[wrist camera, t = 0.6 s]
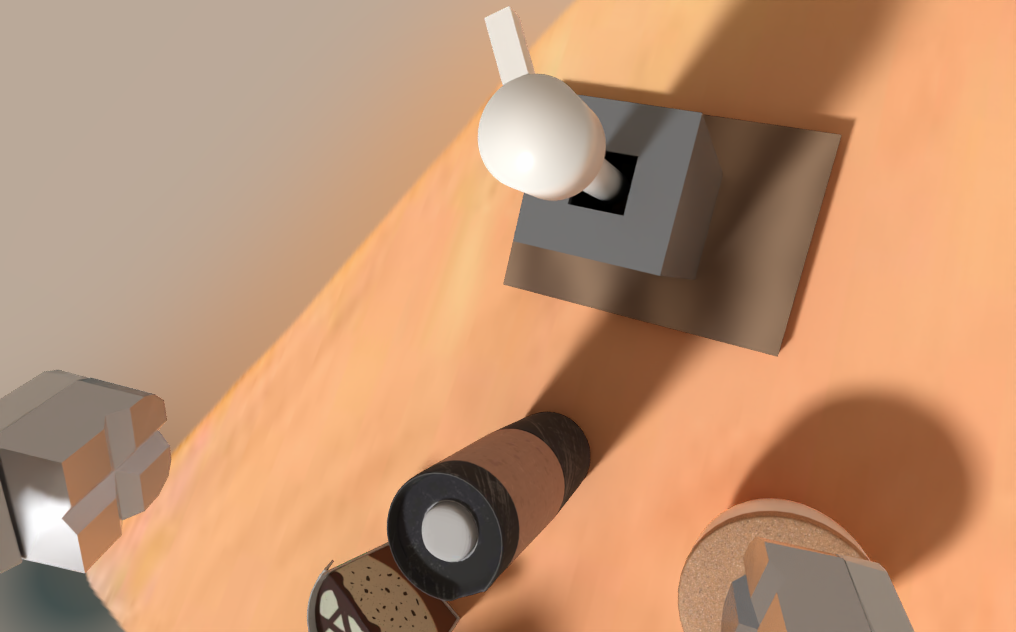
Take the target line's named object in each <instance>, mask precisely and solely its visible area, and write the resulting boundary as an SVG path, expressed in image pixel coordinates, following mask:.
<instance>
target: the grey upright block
mask: <svg viewBox="0 0 1016 632" xmlns="http://www.w3.org/2000/svg"><path fill="white" fill-rule="evenodd" d="M578 96H579V97H580V98H581V99H582V100H583V102H584V103H585V104H586V105H587V106H588V107H589V108H590V109H591V110H592V111H593V112H594V113H595V114H596V116H597V117H598V118H599V120H600V122H601V124H602V127H603V130H604V134H605V140H606V150H605V157H604V159H605V160H607V161H608V162H609V163H610V164H612V165H613V166H614V167H615V168H616V169H618V170H619V171H620V172H621V170H622V166H623V163H624V164H630V165H636V168H635V172H634V176H633V180H632V184H631V188H630V192H629V196H628V200H627V204H626V208H625V212H624V216H622V215H617V214H613V213H611V211H612V207H613V204H607V203H604V202H603V201H601V200H599V199H597V198H595V197H593V196H591V195H590V194H588V193H586V192H584V191H581V192H580V193H578V194H577V195H575V196H572V197H570V198H567V199H563V200H557V201H549V200H543V199H539V198H537V197H534V196H532V195H529V194H527V193H524V195H523V200H522V204H521V209H520V213H519V217H518V222H517V226H516V231H515V235H514V239H513V241H515V242H519V243H523V244H527V245H532V246H536V247H540V248H544V249H549V250H553V251H557V252H561V253H566V254H570V255H574V256H578V257H582V258H587V259H591V260H595V261H599V262H604V263H608V264H612V265H616V266H620V267H625V268H629V269H633V270H637V271H642V272H646V273H650V274H654V275H658V276H666V277H674V278H683V279H691V280H695V278H696V274H697V270H698V267H699V263H700V259H701V255H702V252H703V248H704V244H705V240H706V237H707V233H708V229H709V225H710V222H711V218H712V214H713V210H714V207H715V203H716V199H717V196H718V192H719V188H720V184H721V181H722V177H723V172H722V169H721V166H720V163H719V160H718V158H717V155H716V152H715V149H714V146H713V143H712V140H711V137H710V134H709V131H708V128H707V125H706V122H705V119H704V117H703V114H702V113H700V112H693V111H686V110H679V109H672V108H665V107H659V106H652V105H645V104H638V103H631V102H624V101H617V100H611V99H604V98H597V97H590V96H583V95H578Z"/></svg>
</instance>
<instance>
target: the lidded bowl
mask: <svg viewBox="0 0 1016 632" xmlns="http://www.w3.org/2000/svg"><path fill="white" fill-rule="evenodd" d="M756 536H757V537H762V538H766V539H771V540H775V541H779V542H784V543H788V544H792V545H797V546H801V547H806V548H810V549H814V550H819V551H823V552H827V553H832V554H834V555H836V554H840V555H844V556H849V557H854V558H858V559H863V560H868V561H870V559H869V557H868V556H867V555H866V553H865V552H864V551H863V549H862V548H861V546H860V545H859V544H858V543H857V541H856V540H855V539H854V538H853V537H852V536H851V535H850V534H849V533H848V532H847V531H846V530H845V529H844V528H843V527H842V526H840V525H839V524H838V523H836V522H835V521H834V520H833V519H831V518H830V517H828V516H826V515H825V514H823V513H821V512H820V511H818V510H816V509H814V508H812V507H809V506H807V505H804V504H802V503H798V502H794V501H790V500H785V499H776V498H765V499H756V500H750V501H746V502H743V503H740V504H737V505H735V506H733V507H731V508H729V509H728V510H726V511H724V512H722V513H721V514H720V515H718V516H717V517H716V518H715V519H713V520H712V521H711V522H710V523H709V524H708V525H707V527H706V528H705V529H704V530H703V531H702V533H701V534H700V536H699V537H698V539H697V540H696V542H695V544H694V545H693V548H692V550H691V552H690V554H689V556H688V557H687V560H686V562H685V565H684V567H683V570H682V573H681V577H680V583H679V588H678V609H679V616H680V621H681V624H682V627H683V631H684V632H721V619H722V613H723V607H724V601H725V598H726V596H727V593H728V591H729V588H730V586H731V583H732V582H733V581H734V580H736V579H738V578H740V577H742V576H744V575H746V572H745V567H744V561H743V556H744V554H745V552H746V549H747V547H748V545H749V543H750V542H751V541H752V540H753V539H754V538H755V537H756Z"/></svg>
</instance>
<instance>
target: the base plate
mask: <svg viewBox="0 0 1016 632" xmlns="http://www.w3.org/2000/svg"><path fill="white" fill-rule="evenodd" d="M703 117H704V119H705V122H706V125H707V128H708V131H709V134H710V137H711V140H712V143H713V146H714V149H715V152H716V155H717V158H718V160H719V163H720V166H721V169H722V172H723V177H722V181H721V184H720V188H719V192H718V196H717V199H716V203H715V207H714V210H713V214H712V218H711V222H710V225H709V229H708V233H707V237H706V240H705V244H704V248H703V252H702V255H701V259H700V263H699V267H698V270H697V274H696V278H695V280H691V279H683V278H674V277H666V276H658V275H654V274H650V273H646V272H642V271H637V270H633V269H629V268H625V267H620V266H616V265H612V264H608V263H604V262H599V261H595V260H591V259H587V258H582V257H578V256H574V255H570V254H566V253H561V252H557V251H553V250H549V249H544V248H540V247H536V246H532V245H527V244H523V243H519V242H515V241H513V244H512V248H511V253H510V257H509V262H508V266H507V270H506V275H505V279H504V285H508V286H512V287H515V288H519V289H523V290H527V291H531V292H534V293H538V294H542V295H546V296H550V297H553V298H557V299H561V300H565V301H569V302H572V303H576V304H580V305H584V306H587V307H591V308H595V309H599V310H603V311H606V312H610V313H614V314H618V315H622V316H625V317H629V318H633V319H637V320H641V321H644V322H648V323H652V324H656V325H660V326H663V327H667V328H671V329H675V330H679V331H682V332H686V333H690V334H694V335H698V336H701V337H705V338H709V339H713V340H717V341H720V342H724V343H728V344H732V345H736V346H739V347H743V348H747V349H751V350H755V351H758V352H762V353H766V354H770V355H774V356H777V357H778V354H779V350H780V347H781V343H782V340H783V336H784V333H785V329H786V326H787V323H788V319H789V316H790V312H791V309H792V305H793V302H794V298H795V295H796V291H797V288H798V284H799V281H800V277H801V274H802V271H803V267H804V264H805V260H806V257H807V253H808V250H809V246H810V243H811V239H812V236H813V232H814V229H815V225H816V222H817V218H818V215H819V212H820V208H821V205H822V201H823V198H824V194H825V191H826V187H827V184H828V180H829V177H830V173H831V170H832V166H833V163H834V159H835V156H836V153H837V149H838V146H839V142H840V139H841V135H840V134H833V133H826V132H819V131H812V130H806V129H799V128H792V127H785V126H778V125H771V124H765V123H758V122H751V121H744V120H737V119H730V118H724V117H717V116H710V115H703ZM635 168H636V165H630V164H624V163H623V166H622V170H621V173H623V174H624V175H625V176H626V178H627V179H628V182H629V192H630V188H631V184H632V180H633V176H634V172H635ZM629 192H628V194H627V196H626V198H625V199H624V200H623V201H621V202H620V203H617V204H613V207H612V211H611V213H613V214H617V215H622V216H624V212H625V208H626V204H627V200H628V196H629Z"/></svg>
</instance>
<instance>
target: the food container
mask: <svg viewBox="0 0 1016 632" xmlns="http://www.w3.org/2000/svg"><path fill="white" fill-rule="evenodd" d="M333 562H334V561H333V560H332V561H331V562H330V563H329V564H328V565H327V567H326V568H325V569H324V570H323V571H322V573H321V574H320V575H319V577H318V579H317V581H316V583H315V585H314V587H313V589H312V591H311V595H310V598H309V602H308V609H307V624H308V632H452V631H453V629H454V628H455V626H456V625H457V623H458V622H459V620H460V619H461V618H460V617H459V616H458V615H457V614H456V612H455V611H454V610H453V609H452V608H451V606H450V605H449V604H448V603H447V602H446V601H444V600H440V599H437V598H434V597H432V596H429V595H428V594H426V593H424V592H422V591H421V590H419V589H418V588H417V587H415V586H414V585H413V584H412V583H411V582H410V581H409V580H408V579H407V578H406V577H405V576H404V574H403V573H402V572H401V570H400V569H399V567H398V565H397V564H396V562H395V560H394V557H393V555H392V553H391V549H390V546H389V542H387V543H385V544H383V545H381V546H379V547H377V548H375V549H373V550H370V551H368V552H366V553H364V554H362V555H360V556H358V557H356V558H353V559H351V560H349V561H347V562H345V563H343V564H341V565H339V566H337V567H334V568H332V569H330V570H328V569H329V567H330V566H331V565H332V563H333Z"/></svg>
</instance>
